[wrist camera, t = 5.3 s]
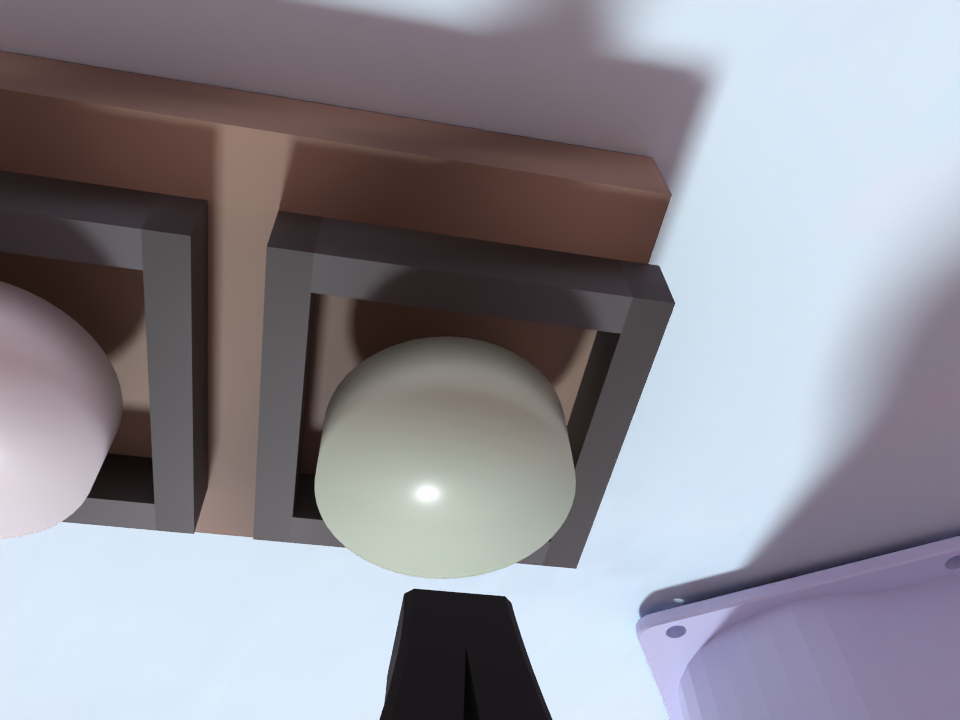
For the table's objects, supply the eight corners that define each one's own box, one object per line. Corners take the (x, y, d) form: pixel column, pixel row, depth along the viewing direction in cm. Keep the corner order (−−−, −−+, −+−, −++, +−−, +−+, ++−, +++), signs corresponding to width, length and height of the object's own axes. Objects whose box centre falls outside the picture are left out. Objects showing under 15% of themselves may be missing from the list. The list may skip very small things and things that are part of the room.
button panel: (663, 159, 15) (701, 231, 13) (547, 514, 20) (560, 609, 18) (-785, -78, 12) (-1054, -37, 10) (-488, 411, 17) (-623, 510, 15)
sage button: (592, 353, 14) (605, 407, 13) (536, 529, 16) (543, 588, 15) (334, 320, 13) (325, 374, 12) (315, 508, 16) (305, 567, 15)
